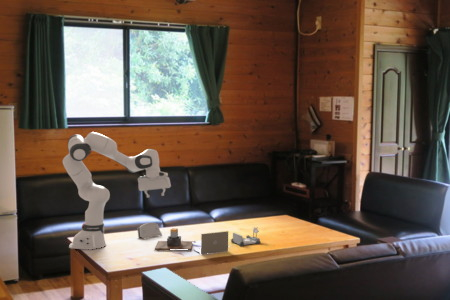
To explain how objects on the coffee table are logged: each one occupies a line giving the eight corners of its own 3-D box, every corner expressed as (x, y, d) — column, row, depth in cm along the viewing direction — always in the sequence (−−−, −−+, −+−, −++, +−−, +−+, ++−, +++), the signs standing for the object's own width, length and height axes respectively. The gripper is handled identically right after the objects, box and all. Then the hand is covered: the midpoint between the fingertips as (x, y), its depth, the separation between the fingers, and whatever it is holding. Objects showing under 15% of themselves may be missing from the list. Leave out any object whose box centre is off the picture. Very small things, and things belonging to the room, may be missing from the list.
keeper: (154, 250, 373) (154, 240, 372) (158, 243, 391) (158, 234, 390) (190, 251, 373) (190, 241, 372) (192, 243, 391) (192, 234, 390)
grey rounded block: (142, 239, 401) (139, 224, 403) (138, 240, 404) (135, 225, 406) (162, 235, 413) (159, 220, 414) (158, 236, 416) (155, 221, 418)
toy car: (254, 225, 403) (264, 229, 393) (254, 240, 404) (263, 244, 394) (231, 228, 394) (240, 231, 384) (230, 243, 395) (240, 247, 385)
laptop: (219, 247, 383) (219, 227, 382) (228, 252, 372) (228, 231, 371) (193, 250, 375) (193, 229, 374) (201, 255, 364) (201, 234, 363)
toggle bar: (170, 245, 381) (170, 229, 380) (172, 243, 384) (172, 228, 383) (175, 245, 379) (175, 229, 378) (177, 244, 383) (177, 228, 382)
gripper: (136, 176, 382) (138, 198, 380) (167, 172, 380) (170, 194, 378) (138, 176, 388) (140, 198, 386) (170, 173, 386) (172, 195, 384)
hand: (155, 196), depth 382 cm, fingers open, 8 cm apart
